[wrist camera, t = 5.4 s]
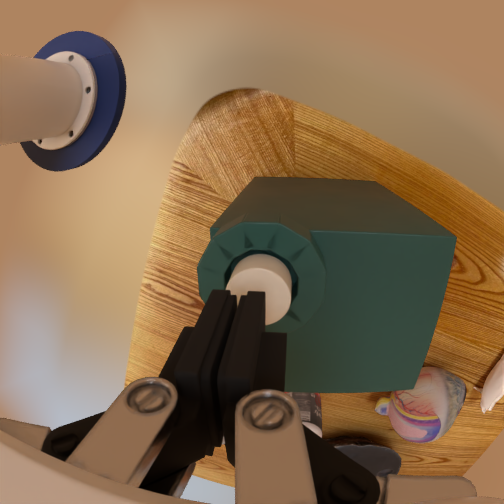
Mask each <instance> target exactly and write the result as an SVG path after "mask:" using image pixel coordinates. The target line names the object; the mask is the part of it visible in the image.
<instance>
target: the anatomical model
mask: <svg viewBox="0 0 504 504" xmlns="http://www.w3.org/2000/svg"><path fill="white" fill-rule="evenodd" d="M465 397H466V386H465V384H464V382H463V381H462V380H461V379H460V378H459V377H457V376H455V375H454V374H452V373H450V372H448V371H446V370H444V369H442V368H438V367H422V369H421V372H420V374H419V377H418V379H417V382H416V385H415V387H414V389H413V390H401V391H392V393H391V395H390V396H382V397H380V398H379V399H378V400H377V403H376V408H375V411H376V412H377V413H378V414H380V415H388V416H389V418H390V422H391V424H392V426H393V428H394V430H395V431H396V432H397V433H398V435H399V436H401V437H402V438H403V439H405V440H407V441H409V442H412V443H419V444H422V443H429V442H432V441H435V440H437V439H439V438H440V437H442V436H443V435H444V434H445V433H446V432H447V431H448V430H449V429H450V428H451V426H452V424H453V422H454V420H455V418H456V417H457V415H458V414H459V412H460V410H461V408H462V406H463V404H464V401H465Z"/></svg>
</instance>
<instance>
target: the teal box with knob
mask: <svg viewBox="0 0 504 504" xmlns="http://www.w3.org/2000/svg"><path fill="white" fill-rule="evenodd" d="M210 237H211V241H210V242H209V244H208V246H207V248H206V250H205V252H204V254H203V255H202V257H201V259H200V261H199V263H198V266H197V273H198V284H199V295H200V296H201V299H202V300H203V302H204V303H205V304H206V302H207V300H208V297H209V295H210V293H211V291H212V290H213V289H219V290H226V287H227V284H228V282H229V280H230V277H231V275H232V273H233V270H234V268H235V267H236V265H237V264H238V263H239V262H240V261H241V260H242V259H244V258H246V257H248V256H250V255H254V254H267V255H270V256H273V257H275V258H277V259H279V260H280V261H281V262H283V263H284V264H285V266H286V267H287V268H288V270H289V272H290V275H291V279H292V289H291V304H290V307H289V309H288V311H287V313H286V314H285V315H284V316H283V317H282V318H281V319H280V320H278V321H277V322H275V323H272V324H269V325H265V332H283V333H287V351H286V372H285V391H284V392H299V393H362V392H385V391H401V390H413V389H414V387H415V385H416V382H417V379H418V377H419V374H420V372H421V369H422V366H423V363H424V361H425V358H426V355H427V352H428V349H429V346H430V343H431V340H432V337H433V334H434V330H435V327H436V324H437V321H438V317H439V314H440V310H441V306H442V303H443V299H444V295H445V291H446V287H447V283H448V279H449V274H450V270H451V265H452V260H453V255H454V250H455V245H456V239H457V237H456V236H455V235H453V234H452V233H451V232H449V231H448V230H447V229H445V228H444V227H442V226H441V225H440V224H438V223H437V222H436V221H434V220H433V219H431V218H430V217H429V216H427V215H426V214H424V213H423V212H421V211H420V210H418V209H417V208H416V207H414V206H413V205H411V204H410V203H408V202H407V201H405V200H404V199H402V198H401V197H399V196H398V195H396V194H394V193H393V192H391V191H390V190H388V189H387V188H385V187H384V186H382V185H380V184H379V183H377V182H376V181H361V180H344V179H323V178H292V177H254V178H253V180H252V181H251V182H250V183H249V184H248V185H247V186H246V187H245V189H244V190H243V191H242V192H241V193H240V194H239V195H238V196H237V198H236V199H235V200H234V201H233V202H232V203H231V204H230V206H229V207H228V208H227V209H226V210H225V211H224V212H223V214H222V215H221V216H220V217H219V218H218V219H217V221H216V222H215V223H214V224H213V225H212V226H211V228H210Z"/></svg>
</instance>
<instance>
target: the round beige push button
mask: <svg viewBox="0 0 504 504" xmlns="http://www.w3.org/2000/svg"><path fill="white" fill-rule="evenodd" d="M291 289H292V279H291V275H290V272H289V270H288V268H287V267H286V266H285V264H284V263H283V262H281V261H280V260H279V259H277V258H275V257H273V256H270V255H267V254H254V255H250V256H248V257H246V258H244V259H242V260H241V261H240V262H239V263H238V264H237V265H236V267H235V268H234V270H233V273H232V275H231V277H230V280H229V282H228V284H227V287H226V290H230V291H231V295H236V296H237V307H238V303H239V300H240V297H241V295H247V292H248V291H264V292H265V293H266V319H265V325H269V324H272V323H275V322H277V321H278V320H280V319H281V318H282V317H283V316H284V315H285V314H286V313H287V311H288V309H289V307H290V304H291Z"/></svg>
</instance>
